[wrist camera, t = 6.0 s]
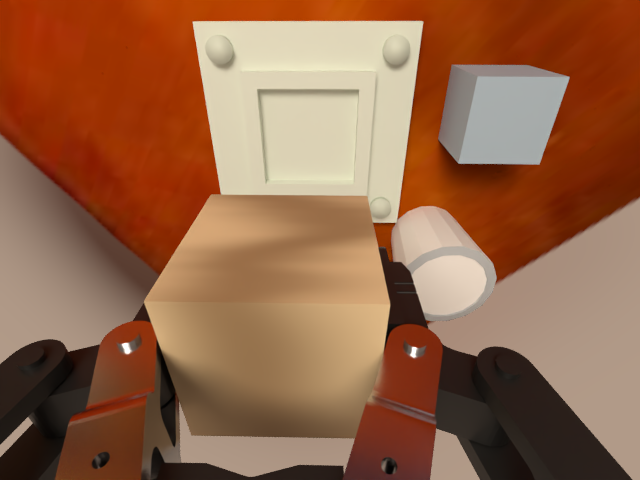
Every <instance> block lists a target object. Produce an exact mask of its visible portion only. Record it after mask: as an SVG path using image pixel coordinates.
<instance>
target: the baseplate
mask: <svg viewBox="0 0 640 480" xmlns="http://www.w3.org/2000/svg"><path fill="white" fill-rule="evenodd" d="M193 27H194V33H195V39H196V45H197V51H198V57H199V63H200V69H201V75H202V81H203V88H204V94H205V100H206V106H207V112H208V118H209V124H210V130H211V136H212V142H213V148H214V154H215V160H216V166H217V172H218V178H219V184H220V190H221V195H328V196H367V197H368V202H369V206H370V211H371V216H372V220H373V223H397V217H398V209H399V202H400V194H401V187H402V179H403V171H404V164H405V156H406V149H407V141H408V133H409V126H410V118H411V111H412V103H413V96H414V88H415V80H416V73H417V65H418V58H419V50H420V43H421V35H422V27H423V21H195V22H193Z"/></svg>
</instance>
